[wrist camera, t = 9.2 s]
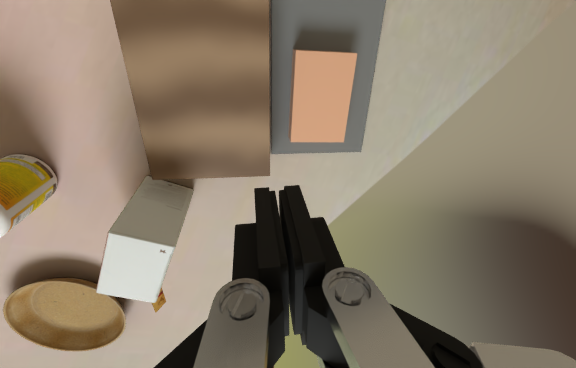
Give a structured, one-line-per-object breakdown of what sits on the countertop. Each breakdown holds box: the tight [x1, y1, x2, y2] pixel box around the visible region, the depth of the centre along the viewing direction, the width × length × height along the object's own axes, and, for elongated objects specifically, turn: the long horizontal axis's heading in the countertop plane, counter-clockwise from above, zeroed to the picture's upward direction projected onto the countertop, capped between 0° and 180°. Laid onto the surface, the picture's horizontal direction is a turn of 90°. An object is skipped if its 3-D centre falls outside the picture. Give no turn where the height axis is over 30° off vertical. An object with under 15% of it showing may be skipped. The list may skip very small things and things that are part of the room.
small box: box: [96, 176, 194, 303], centre depth 30 cm, size 8×6×10 cm
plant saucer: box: [3, 278, 126, 351], centre depth 39 cm, size 15×15×3 cm
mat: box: [271, 0, 386, 154], centre depth 29 cm, size 16×11×1 cm
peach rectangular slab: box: [288, 49, 357, 142], centre depth 29 cm, size 9×6×2 cm, turn 177°
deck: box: [110, 0, 270, 180], centre depth 27 cm, size 16×12×4 cm
